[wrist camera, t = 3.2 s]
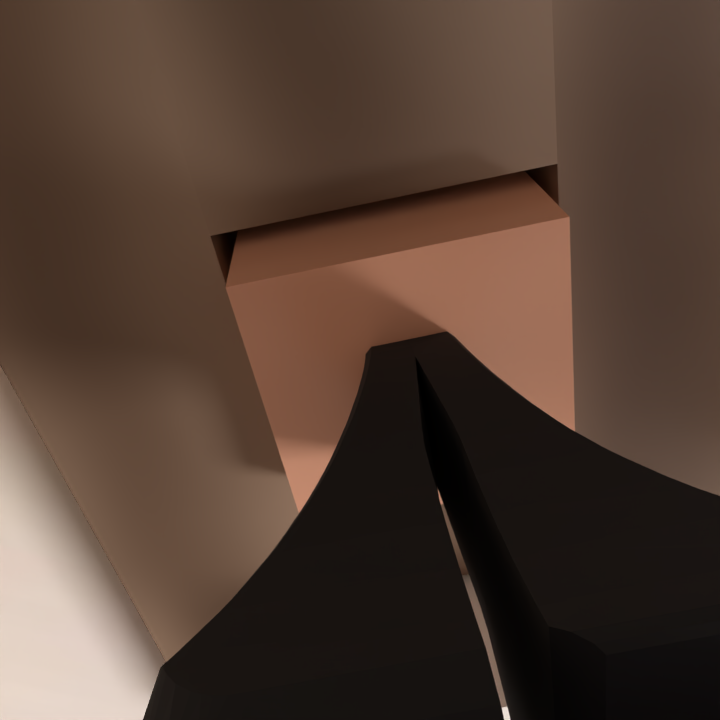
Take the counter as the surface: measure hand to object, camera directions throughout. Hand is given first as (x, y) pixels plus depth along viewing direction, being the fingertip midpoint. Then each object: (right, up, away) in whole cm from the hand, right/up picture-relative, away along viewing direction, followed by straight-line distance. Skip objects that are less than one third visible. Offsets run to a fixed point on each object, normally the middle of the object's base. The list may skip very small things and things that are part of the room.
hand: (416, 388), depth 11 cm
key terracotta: (0, +2, +3) cm, 4 cm away
